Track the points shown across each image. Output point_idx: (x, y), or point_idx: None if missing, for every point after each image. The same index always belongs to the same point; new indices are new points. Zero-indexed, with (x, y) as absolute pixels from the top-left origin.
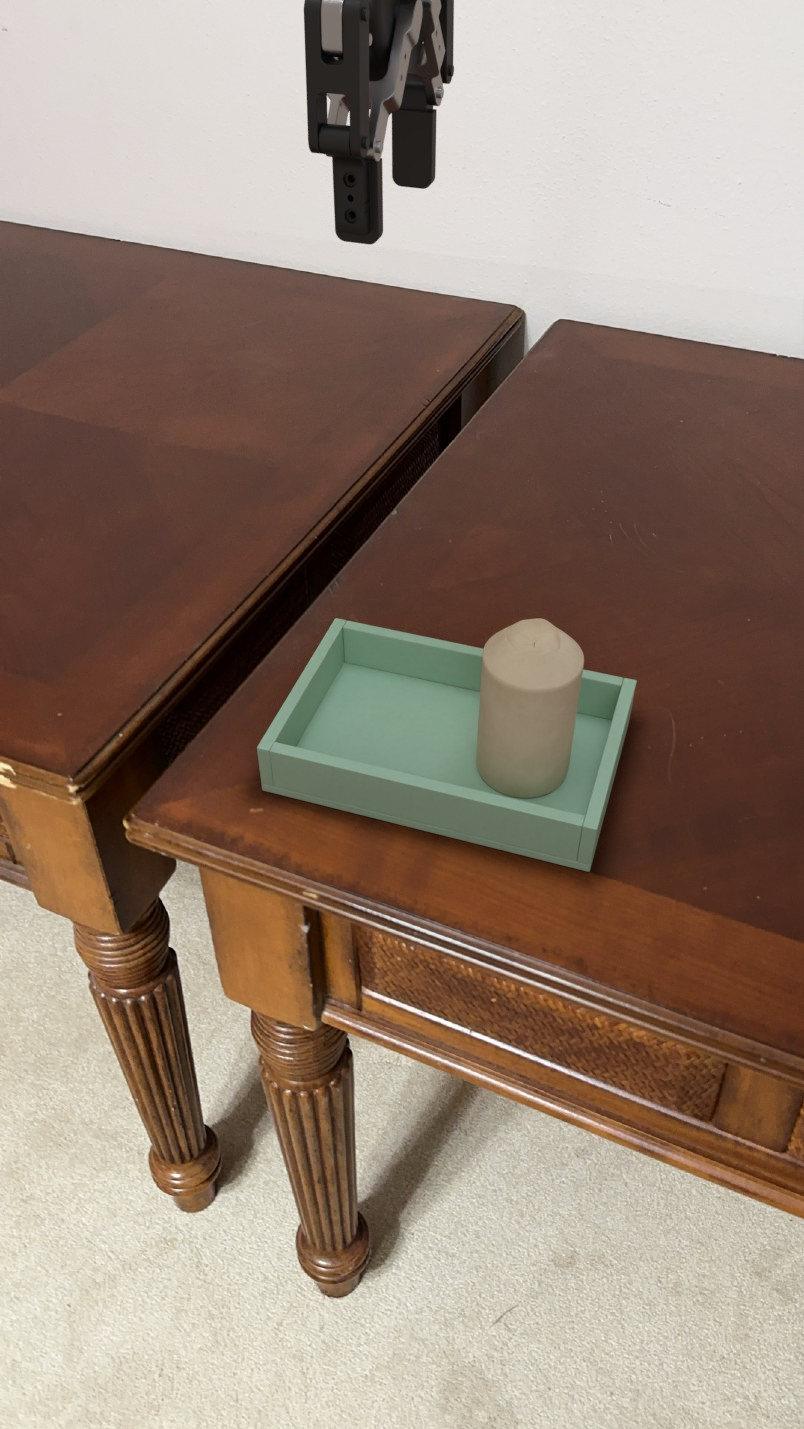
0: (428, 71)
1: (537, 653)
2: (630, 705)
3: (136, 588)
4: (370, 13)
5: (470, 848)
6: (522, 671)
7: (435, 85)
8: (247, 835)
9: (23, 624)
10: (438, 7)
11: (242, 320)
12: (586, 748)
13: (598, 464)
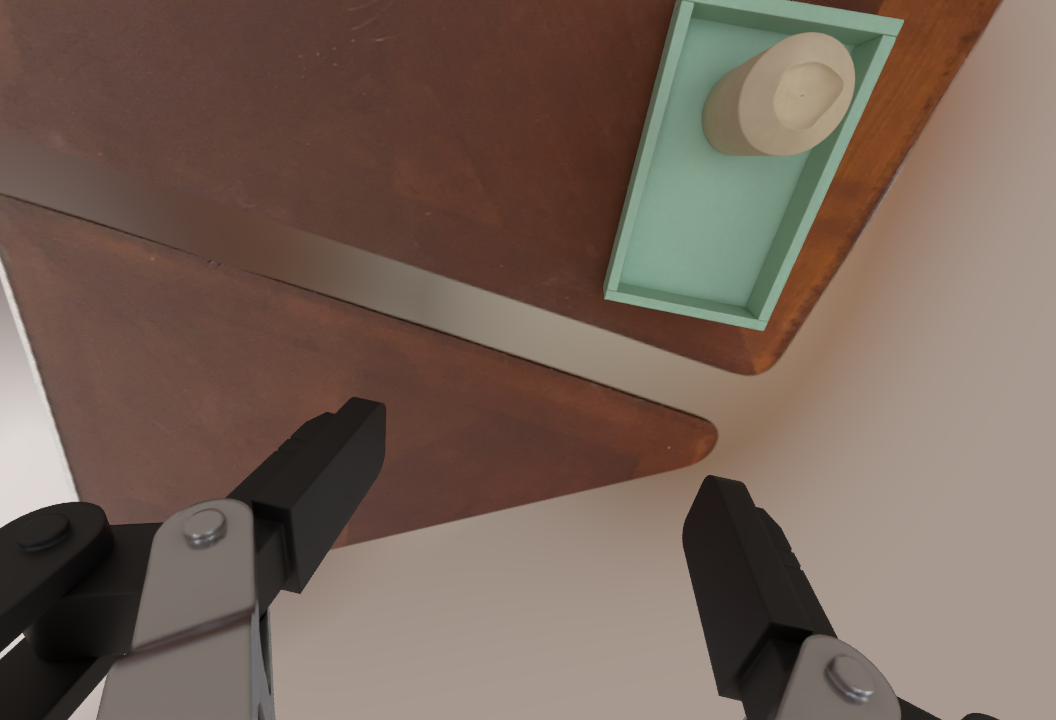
0: (256, 652)
1: (843, 88)
2: None
3: (535, 433)
4: None
5: None
6: (843, 106)
7: (225, 567)
8: (791, 317)
9: (582, 485)
10: None
11: (158, 434)
12: (722, 47)
13: (249, 62)
